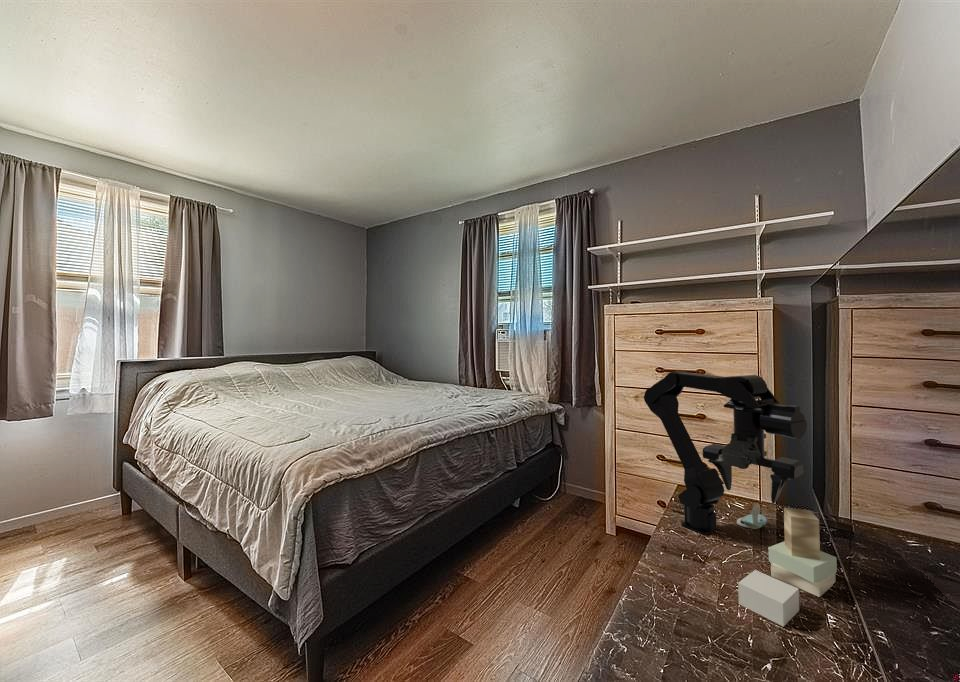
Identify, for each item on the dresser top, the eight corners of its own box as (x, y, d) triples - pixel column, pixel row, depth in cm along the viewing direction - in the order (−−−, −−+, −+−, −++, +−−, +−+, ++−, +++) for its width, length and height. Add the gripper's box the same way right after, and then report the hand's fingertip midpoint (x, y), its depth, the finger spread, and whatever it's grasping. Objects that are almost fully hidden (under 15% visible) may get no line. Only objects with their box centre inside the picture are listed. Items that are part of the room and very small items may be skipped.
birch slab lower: (771, 577, 80) (770, 563, 80) (788, 565, 84) (787, 551, 84) (819, 599, 73) (819, 583, 73) (835, 585, 78) (835, 570, 78)
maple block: (791, 555, 78) (790, 516, 78) (784, 544, 82) (783, 507, 82) (820, 560, 76) (819, 520, 76) (811, 548, 80) (810, 510, 80)
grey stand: (738, 603, 72) (738, 582, 72) (755, 590, 76) (755, 569, 76) (783, 626, 66) (782, 603, 66) (799, 610, 70) (798, 588, 70)
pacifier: (732, 525, 102) (758, 534, 97) (730, 502, 102) (757, 509, 97) (743, 518, 106) (769, 525, 101) (742, 495, 106) (768, 501, 102)
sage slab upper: (768, 561, 81) (768, 547, 81) (791, 552, 84) (791, 538, 84) (813, 583, 74) (813, 567, 74) (836, 572, 77) (836, 557, 77)
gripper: (689, 427, 93) (691, 491, 93) (782, 443, 77) (784, 521, 77) (713, 421, 99) (714, 481, 99) (803, 434, 83) (805, 506, 83)
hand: (750, 496), depth 89 cm, fingers open, 9 cm apart
